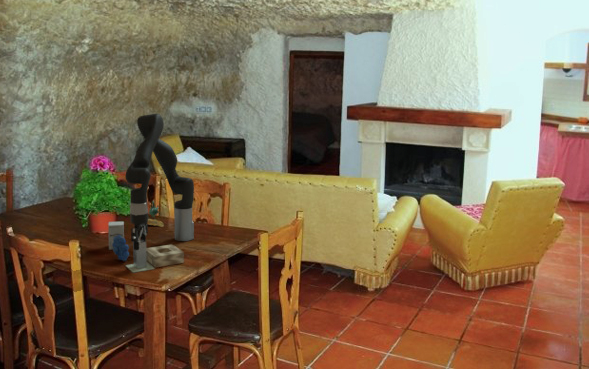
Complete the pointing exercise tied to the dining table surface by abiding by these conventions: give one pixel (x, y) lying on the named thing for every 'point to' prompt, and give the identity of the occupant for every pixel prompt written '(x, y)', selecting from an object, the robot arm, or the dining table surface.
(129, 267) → the mat
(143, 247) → the peg
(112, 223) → the supplement box
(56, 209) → the dining table surface
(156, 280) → the dining table surface
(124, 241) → the grapes
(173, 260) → the holder
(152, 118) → the robot arm
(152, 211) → the frog figurine
